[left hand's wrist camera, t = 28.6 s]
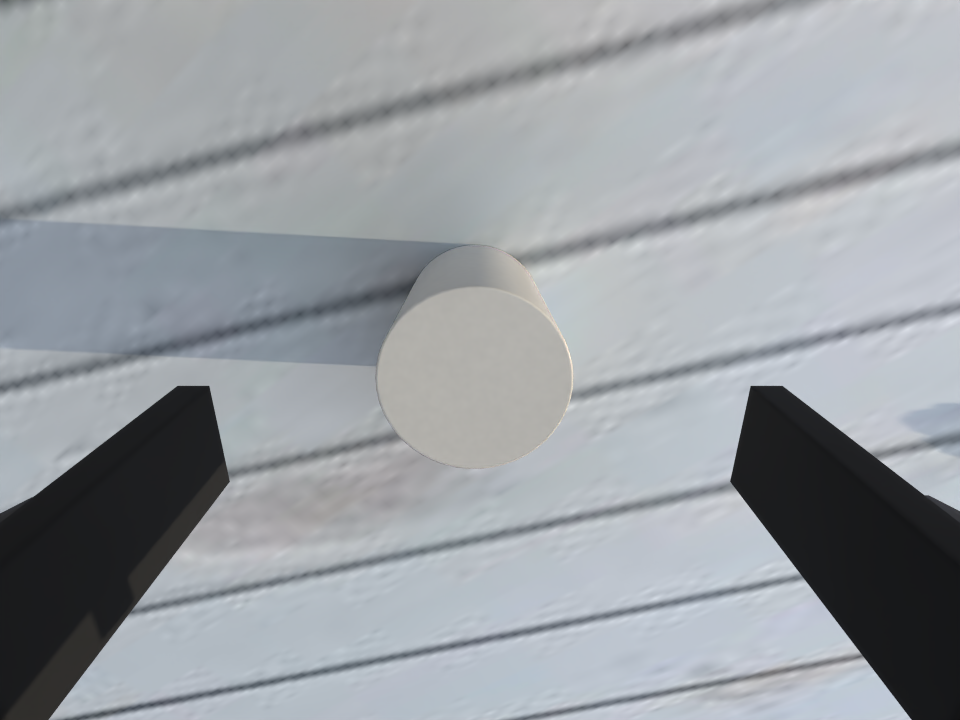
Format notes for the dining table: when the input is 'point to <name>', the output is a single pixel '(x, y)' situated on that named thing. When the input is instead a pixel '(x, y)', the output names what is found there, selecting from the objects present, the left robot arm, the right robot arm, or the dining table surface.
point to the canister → (474, 362)
